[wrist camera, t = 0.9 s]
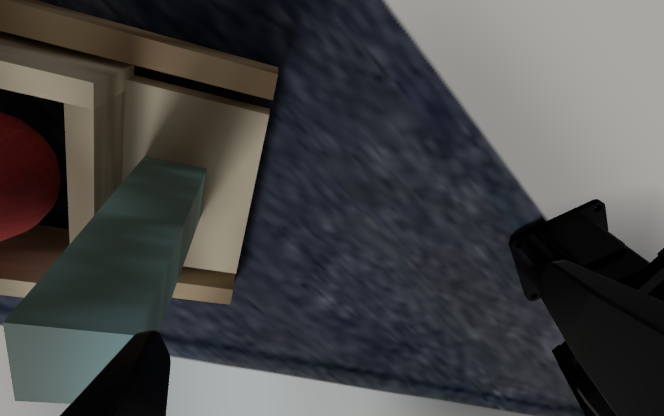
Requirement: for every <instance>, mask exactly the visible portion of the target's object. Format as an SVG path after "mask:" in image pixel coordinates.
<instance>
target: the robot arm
mask: <svg viewBox="0 0 664 416" xmlns="http://www.w3.org/2000/svg"><path fill="white" fill-rule="evenodd" d="M595 207H596V208H595ZM518 242H519V243H518ZM516 243H518V244H516ZM509 246H510V249H511V253H512V256H513V259H514V262H515V265H516V269H517V272H518V275H519V278H520V281H521V285H522V288H523V291H524V294H525V296H526V297H527V299H528V300H529V301H535V300H537V299H540V298H542V300H543V302H544V304H545V306H546V307H547V309H548V311H549V313H550V314H551V316H552V318H553V320H554V321H555V323H556V325H557V327H558V328H559V330H560V332H561V333H562V335H563V337H564V339H565V340H566V341H564V342H563V343H562V344H561V345H558V346H557V347H555V348H554V349H553V350H552V352H553V354H554V356H555V358H556V360H557V362H558V365H559V367H560V369H561V370H562V372H563V374H564V376H565V378H566V380H567V382H568V384H569V386H570V387H571V389H572V391H573V393H574V395H575V397H576V399H577V401H578V403H579V405H580V406H581V408H582V410H583V412H584V414H585V416H664V248H663V249H662V250H661V251H660V252H659V253H658V256H657V257H656V258H655V259H654V260H653V261H652V262H651V263H650V262H648V261H647V260H645V259H644V258H643V257H641V256H640V255H639V254H637V253H636V252H634V251H633V250H632V249H630V248H629V247H627V246H626V245H625V244H624V243H623V242H622V241H620V240H619V239H618V238H616V237H615V236H613V235H612V234H611V233H609V232H608V225H607V218H606V209H605V204H604V203H602V202H601V201H600V200H598V199H595V200H592V201H590V202H587V203H585V204H583V205H581V206H579V207H577V208H574V209H572V210H570V211H568V212H566V213H564V214H561V215H559V216H557V217H555V218H553V219H551V220H549V221H546V222H544V223H542V224H540V225H538V226H536V227H533V228H531V229H529V230H527V231H525V232H523V233H520V234H518V235H516V236H514V237H512V238H511V239H510V241H509ZM169 374H170V355H169V352H168V350H167V348H166V346H165V344H164V341H163V339H162V337H161V335H160V333H159V332H158V331H157V330H149V331H144V332H139V333H137V334H135V335H134V336H133V337H132V338H131V339H130V340H129V341H128V342H127V343H126V345H125V346H124V347H123V348H122V349H121V350H120V351H119V352H118V353H117V354H116V355H115V356H114V358H113V359H112V360H111V361H110V362H109V363H108V364H107V365H106V366H105V367H104V368H103V370H102V371H101V372H100V373H99V374H98V375H97V376H96V377H95V378H94V379H93V380H92V381H91V383H90V384H89V385H88V386H87V387H86V388H85V389H84V390H83V391H82V392H81V393H80V394H79V396H78V397H77V398H76V399H75V400H74V401H73V402H72V403H71V404H70V406H69V407H68V408H67V409H66V410H65V411H64V412H63V413H62V414H61V415H60V416H166V406H167V395H168V385H169Z"/></svg>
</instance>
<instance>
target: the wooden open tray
mask: <svg viewBox="0 0 664 416" xmlns="http://www.w3.org/2000/svg"><path fill="white" fill-rule="evenodd" d="M134 67H135V65H132V64H128V63H124V62H120V61H116V60H113V59H109V58H105V57H101V56H97V55H93V54H89V53H85V52H81V51H77V50H73V49H69V48H66V47H62V46H58V45H54V44H50V43H46V42H42V41H38V40H34V39H30V38H26V37H22V36H19V35H15V34H11V33H7V32H3V31H0V89H4V90H9V91H13V92H18V93H22V94H27V95H31V96H36V97H40V98H45V99H49V100H53V101H58V102H62V103H64V118H65V142H66V167H67V191H68V215H69V229H63V228H57V227H50V226H44V225H35V226H34V227H33V228H31V229H30V230H28V231H27V232H24V233H21V234H19V235H16V236H13V237H11V238H8V239H5V240H3V241H0V295H7V296H16V297H24V299H23V300H22V301H21V302H20V303H19V304H18V306H17V307H16V308H15V309H14V310H13V312H12V313H11V314H10V315H9V316H8V317H7V319H6V320H5V321H4V322H3V326H4V332H5V338H6V345H7V351H8V357H9V364H10V370H11V377H12V384H13V389H14V396H15V401H30V402H49V403H68V404H69V403H70V404H71V403H72V402H73V401H74V400H75V399H76V398H77V397H78V396H79V394H80V393H81V392H82V391H83V390H84V389H85V388H86V387H87V386H88V385H89V384H90V383H91V381H92V380H93V379H94V378H95V377H96V376H97V375H98V374H99V373H100V372H101V371H102V370H103V368H104V367H105V366H106V365H107V364H108V363H109V362H110V361H111V360H112V359H113V358H114V356H115V355H116V354H117V353H118V352H119V351H120V350H121V349H122V348H123V347H124V346H125V345H126V343H127V342H128V341H129V340H130V339H131V338H132V337H133V336H134V335H135V334H137V333H139V332H144V331H149V330H157V331H158V332H159V331H160V329H161V326H162V323H163V320H164V317H165V315H166V312H167V309H168V306H169V304H170V301H171V298H172V295H173V292H174V290H175V287H176V284H177V281H178V279H179V276H180V273H181V270H182V267H183V266H185V267H192V268H199V269H206V270H213V271H220V272H227V273H234V274H236V272H237V267H238V262H239V258H240V253H241V248H242V243H243V238H244V234H245V229H246V224H247V219H248V215H249V210H250V205H251V200H252V195H253V191H254V186H255V181H256V176H257V171H258V167H259V162H260V157H261V152H262V148H263V143H264V138H265V133H266V128H267V124H268V119H269V113H270V109H269V108H265V107H261V106H257V105H253V104H249V103H245V102H241V101H237V100H233V99H229V98H225V97H221V96H217V95H213V94H209V93H205V92H201V91H197V90H193V89H189V88H185V87H181V86H177V85H173V84H169V83H165V82H161V81H157V80H153V79H149V78H145V77H141V76H137V75H134Z"/></svg>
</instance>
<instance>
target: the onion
mask: <svg viewBox="0 0 664 416" xmlns="http://www.w3.org/2000/svg"><path fill="white" fill-rule="evenodd" d="M60 182H61V175H60V170H59V166H58V162H57V157H56V154H55V153H54V151H53V150H52V148H51V147H50V146H49V144H48V143H47V141H46V140H45V139H44V137H43V136H42V135H40V134H39V133H38V132H37V131H35V130H34V129H33V128H31V127H30V126H29V125H28V124H26V123H25V122H24V121H22V120H20V119H18V118H15V117H13V116H10V115H8V114H5V113H3V112H1V111H0V241H3V240H5V239H8V238H11V237H13V236H16V235H19V234H21V233H24V232H27V231H28V230H30V229H31V228H33V227H34V226H35V225H37V224H38V223H39V222H40V221H41V220H42V219H43V218H44V217H45V215H46V214H47V213H48V212H49V211H50V210H51V209H52V208H53V206H54V204H55V202H56V200H57V198H58V194H59V188H60Z"/></svg>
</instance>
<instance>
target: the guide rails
mask: <svg viewBox="0 0 664 416" xmlns="http://www.w3.org/2000/svg"><path fill="white" fill-rule="evenodd" d="M0 31H3V32H7V33H11V34H15V35H19V36H22V37H26V38H30V39H34V40H38V41H42V42H46V43H50V44H54V45H58V46H62V47H66V48H69V49H73V50H77V51H81V52H85V53H89V54H93V55H97V56H101V57H105V58H109V59H113V60H116V61H120V62H124V63H128V64H132V65H136V66H140V67H144V68H148V69H152V70H156V71H160V72H163V73H167V74H171V75H175V76H179V77H183V78H187V79H191V80H195V81H199V82H203V83H207V84H210V85H214V86H218V87H222V88H226V89H230V90H234V91H238V92H242V93H246V94H250V95H254V96H258V97H261V98H265V99H269V100H273V97H274V92H275V87H276V82H277V78H278V67H275V66H272V65H268V64H264V63H261V62H257V61H254V60H250V59H246V58H243V57H239V56H236V55H232V54H228V53H225V52H221V51H218V50H214V49H210V48H207V47H203V46H200V45H196V44H192V43H189V42H185V41H182V40H178V39H174V38H171V37H167V36H163V35H160V34H156V33H153V32H149V31H145V30H142V29H138V28H135V27H131V26H127V25H124V24H120V23H117V22H113V21H109V20H106V19H102V18H99V17H95V16H91V15H88V14H84V13H81V12H77V11H73V10H70V9H66V8H63V7H59V6H55V5H52V4H48V3H45V2H41V1H37V0H0ZM234 281H235V274H234V273H227V272H220V271H213V270H206V269H199V268H192V267H185V266H183V267H182V270H181V273H180V276H179V279H178V281H177V284H176V287H175V290H174V292H173V295H172V298H180V299H188V300H196V301H204V302H213V303H221V304H229V305H230V302H231V297H232V292H233V287H234Z"/></svg>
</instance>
